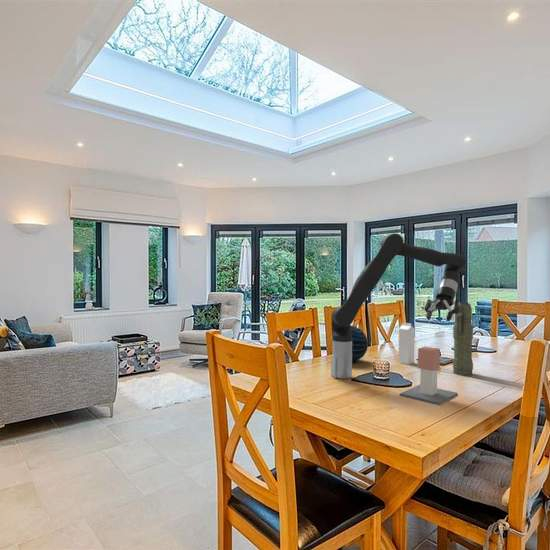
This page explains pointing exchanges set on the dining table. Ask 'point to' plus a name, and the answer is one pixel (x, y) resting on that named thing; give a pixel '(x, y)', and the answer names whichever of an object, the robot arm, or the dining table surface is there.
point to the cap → (429, 358)
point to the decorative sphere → (357, 343)
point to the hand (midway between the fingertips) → (437, 319)
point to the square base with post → (428, 389)
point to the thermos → (463, 341)
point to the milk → (406, 343)
